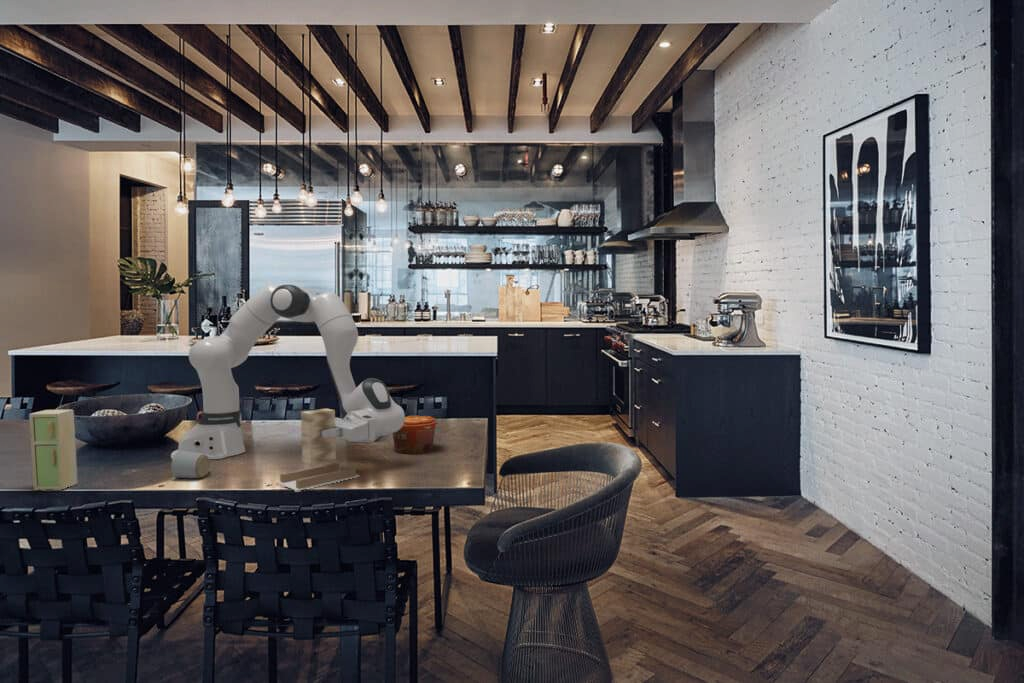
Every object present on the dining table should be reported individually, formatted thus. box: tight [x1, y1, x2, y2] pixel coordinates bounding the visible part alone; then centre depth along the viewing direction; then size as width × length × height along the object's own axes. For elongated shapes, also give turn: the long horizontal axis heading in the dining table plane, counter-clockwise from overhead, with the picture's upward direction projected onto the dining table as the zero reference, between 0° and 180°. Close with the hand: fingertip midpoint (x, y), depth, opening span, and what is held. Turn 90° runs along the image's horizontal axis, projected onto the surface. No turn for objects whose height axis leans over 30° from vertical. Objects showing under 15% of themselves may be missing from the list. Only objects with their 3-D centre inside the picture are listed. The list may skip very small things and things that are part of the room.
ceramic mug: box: [170, 451, 212, 479], centre depth 192 cm, size 11×8×8 cm
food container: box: [392, 415, 438, 455], centre depth 227 cm, size 16×16×11 cm
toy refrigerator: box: [28, 409, 78, 491], centre depth 180 cm, size 8×7×21 cm
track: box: [275, 462, 361, 493], centre depth 188 cm, size 20×11×3 cm, turn 137°
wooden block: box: [300, 408, 337, 465], centre depth 187 cm, size 8×4×14 cm, turn 138°
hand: (315, 432), depth 186 cm, fingers closed on wooden block, 4 cm apart
